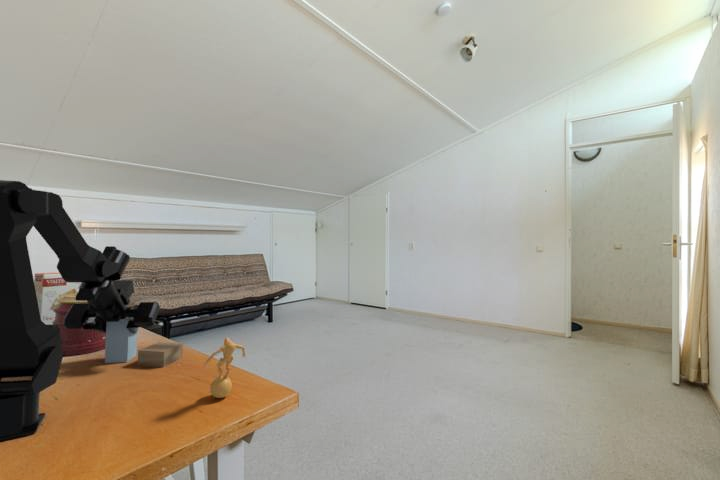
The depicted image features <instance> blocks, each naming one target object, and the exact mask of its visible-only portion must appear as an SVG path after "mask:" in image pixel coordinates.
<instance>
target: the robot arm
mask: <svg viewBox="0 0 720 480" xmlns="http://www.w3.org/2000/svg"><path fill="white" fill-rule="evenodd" d="M63 205H64V204H63V200H62V197H61V196H60V195H59V194H57V193H54V192H52V191H46V190H45V191H44V190H38V189H33V188H32V187H31V188H30V187H28V185H27V184H25V183H24V182H22V181H18V180H4V179H3V180H1V179H0V440H1V441H5V440H10V439H14V438H18V437H23V436H24V437H25V436H28V435H33V434H35V433H36V432H38V430H39V428H40V426H41V425H42V423H43V421H44V419H45V417H46V412H41V413H39V412H40V397H41V396H40V394H41V392H42V391H44V390H46V389H48V388H49V387H51V386H53V385H55V384H56V383H57V380H58V377H59V372H60V369H61V364H62V362H63V357H64V355H63V350H62V348H61V345H63V342H62V341H61V338H60V328H59V327H58V325H57V324H53V325H46V324H45V323H43V322H42V321H41V317H40V312H39V307H38V301H37V296H36V290H35V285H34V275H33V270H32V264H31V259H30V253H29V247H28V241H27V236H28V235H29V233H30V232H31V230H32V229H33V227H34V229H35V230H36V232H38V233H39V235H40V236H41V237H42V238H43V240H44V241H45V242H46V244H47V245H48V246H49V248H50V249H51V250H52V251H53V252H54V254H56V257H57V258H58V262H57V265H56V269H57V271H58V273H60V274H61V276H62V278H63V279H64V280H65V281H66V282H71V283H72V282H82V283H81V285H80V286H79V291H78V293H77V295H76V298H75V300H76V301H87V302H88V303H74V304H73V305H72V306H71V308H70V310H69V311H68V313H67V315H66V316H65V318H64V319H63V323H64V325H65V326H66V327H67V328H68V329H79V328H82V327H83V329H85V330H93V331H98V332H103V333H106V323H107V322H119V320H124V319H125V318H126V317H128V319H130V320H129V322H128V324H127V326H126V328H127V329H128V330H130V331H131V332H132V333H134V334H136V333H137V334H138V332H139V331H138V330H139V328H141V327H142V328H143V327H145V328H146V327H152V326H153V325H154V324H155V322H156V321H157V316H158V314H159V311H160V309H161V306H160V304H159V302H157V301H141V302H139V304H134V305H132V306H130V307H129V305H130V303H131V299H130V297H131V296H132V295H133V294H134V293H135V287H134V281H133V280H130V279H129V280H128V279H127V280H126V279H124V280H123V279H121V278H122V276H123V275H124V272H125V271H126V269H127V267H128V266H129V265H128V264H129V262H130V261H131V258H130V255H129V254H128V253H126V252H125V251H123V250H120V249H117V247H116V246H114V245H111V246H105V247H104V249H103V251H101V250H100V249H97V248H95V247H93V246H91V245H89V244H88V243H87V242H86V240H85V238H84V237H83V236H82V234H81V232H80V231H79V228H77V226H76V225H75V223H74V222H73V221H72V218H71V217H70V216H69V214H68V212H67V211H66V209H65V208H64V207H63ZM83 325H84V326H83ZM16 378H19V379H20V378H30V379H22V380H18V379H17V380H6V381H4V379H16ZM2 379H3V381H2Z"/></svg>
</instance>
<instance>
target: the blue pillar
mask: <svg viewBox="0 0 720 480" xmlns="http://www.w3.org/2000/svg"><path fill="white" fill-rule="evenodd" d="M129 320H130V319H128V317H126V318H125V319H124V320H119V322H107V323H106V345H105V348H104V364H117V363H129V361H131V360H132V359H134V358H135V357H137V355H138V349H137V348H138V332H137V333H136V334H134V333H132V332H131V331H130V330H128V329H127V328H126V326H127V324H128V322H129Z"/></svg>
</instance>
